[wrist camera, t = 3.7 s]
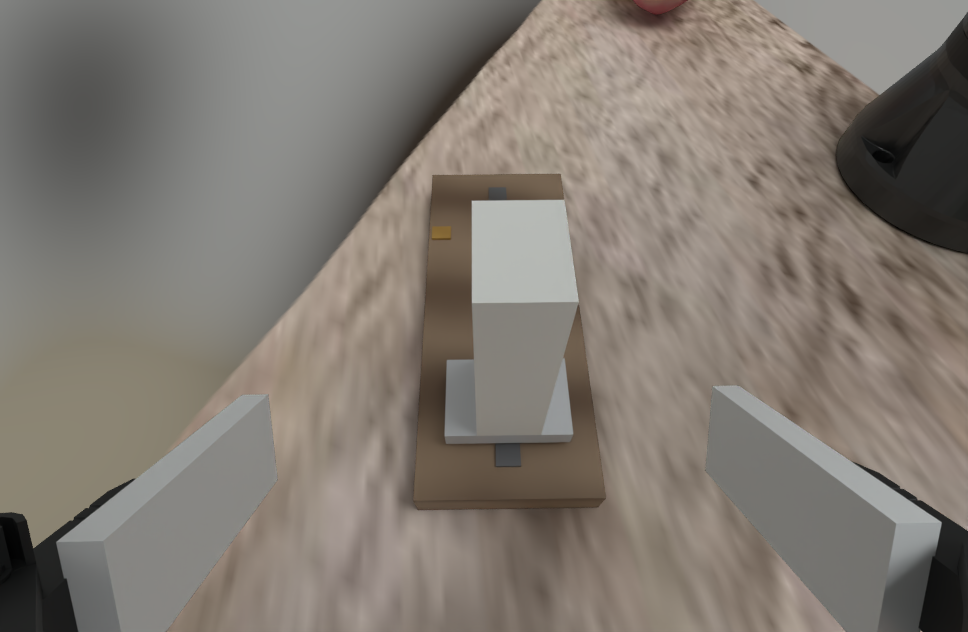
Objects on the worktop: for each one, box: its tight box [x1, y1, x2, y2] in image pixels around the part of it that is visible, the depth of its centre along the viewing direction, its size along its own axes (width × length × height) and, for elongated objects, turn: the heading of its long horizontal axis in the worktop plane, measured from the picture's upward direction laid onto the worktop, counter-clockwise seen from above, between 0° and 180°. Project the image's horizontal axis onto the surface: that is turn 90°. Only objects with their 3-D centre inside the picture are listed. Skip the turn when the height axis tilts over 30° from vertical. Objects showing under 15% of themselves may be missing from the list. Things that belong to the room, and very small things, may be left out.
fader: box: [445, 200, 579, 444], centre depth 20 cm, size 4×6×12 cm, turn 91°
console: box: [413, 174, 606, 510], centre depth 30 cm, size 22×9×2 cm, turn 1°
